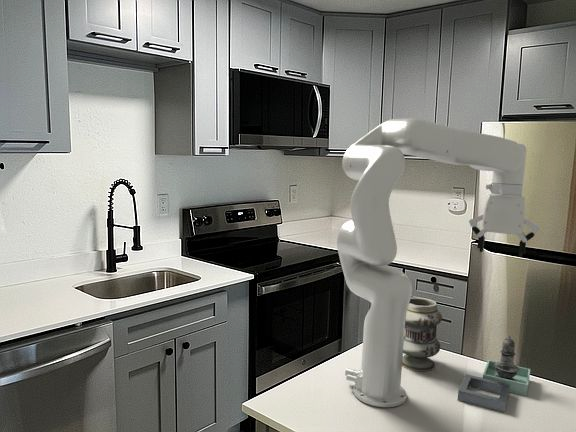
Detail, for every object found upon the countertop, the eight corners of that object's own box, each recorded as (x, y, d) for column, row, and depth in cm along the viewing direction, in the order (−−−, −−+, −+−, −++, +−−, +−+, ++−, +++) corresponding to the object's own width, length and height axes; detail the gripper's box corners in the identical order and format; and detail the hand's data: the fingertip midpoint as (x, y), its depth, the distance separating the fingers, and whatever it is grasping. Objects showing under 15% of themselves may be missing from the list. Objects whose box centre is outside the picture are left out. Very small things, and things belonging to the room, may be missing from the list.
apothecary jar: (406, 351, 147) (410, 292, 144) (445, 363, 139) (451, 301, 137) (386, 363, 138) (390, 301, 135) (427, 377, 130) (432, 311, 128)
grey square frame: (457, 400, 119) (458, 390, 118) (464, 383, 128) (465, 373, 127) (504, 412, 114) (505, 402, 114) (508, 393, 123) (509, 384, 123)
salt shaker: (510, 374, 132) (515, 331, 130) (521, 385, 126) (526, 340, 124) (489, 374, 132) (493, 331, 130) (499, 384, 126) (503, 339, 124)
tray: (481, 385, 127) (482, 374, 126) (487, 370, 136) (488, 359, 136) (526, 396, 122) (527, 384, 122) (529, 379, 131) (530, 369, 131)
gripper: (470, 188, 132) (464, 251, 134) (542, 193, 124) (535, 260, 126) (474, 187, 138) (469, 247, 141) (543, 192, 130) (536, 255, 133)
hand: (500, 253), depth 133 cm, fingers open, 9 cm apart
